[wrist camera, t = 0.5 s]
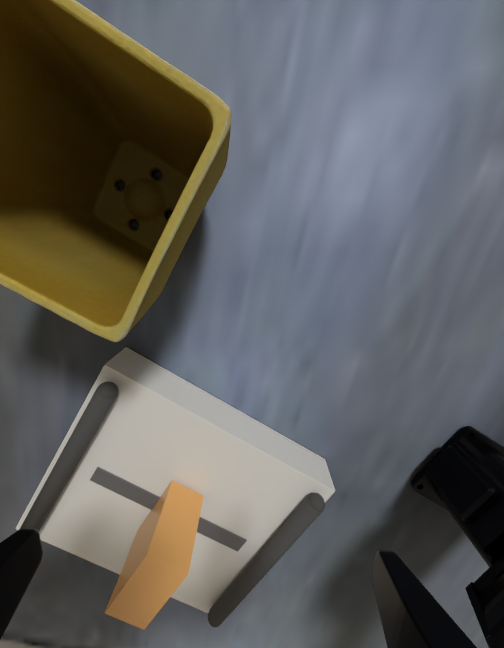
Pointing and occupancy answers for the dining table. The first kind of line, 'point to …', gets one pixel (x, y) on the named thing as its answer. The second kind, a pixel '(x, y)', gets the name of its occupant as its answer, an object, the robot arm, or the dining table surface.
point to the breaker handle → (157, 557)
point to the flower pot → (97, 164)
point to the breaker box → (179, 477)
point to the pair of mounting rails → (76, 450)
